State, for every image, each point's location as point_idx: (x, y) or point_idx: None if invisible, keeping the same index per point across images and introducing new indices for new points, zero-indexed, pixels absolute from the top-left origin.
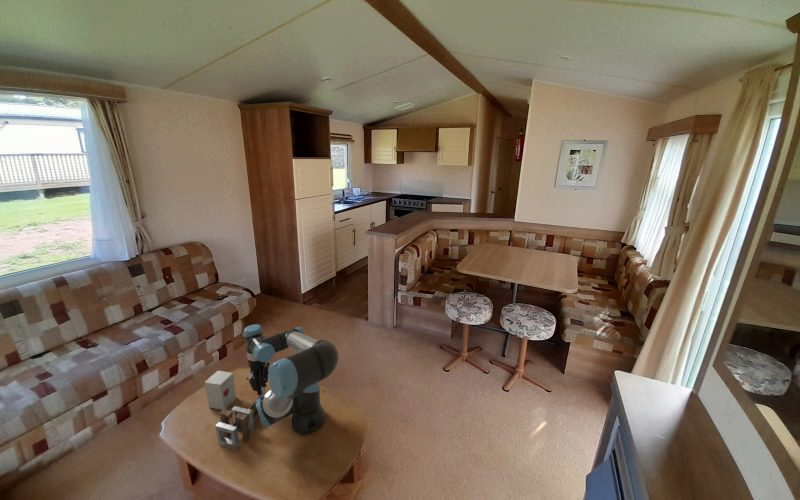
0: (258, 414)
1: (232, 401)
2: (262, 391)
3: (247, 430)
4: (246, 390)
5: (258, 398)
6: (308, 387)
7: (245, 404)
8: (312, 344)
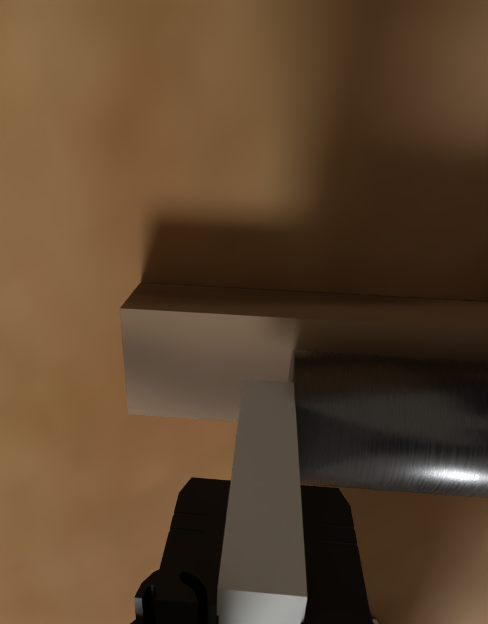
0: (447, 321)
1: None
2: (301, 530)
3: None
4: (120, 588)
5: (330, 473)
6: None
7: None
8: None
